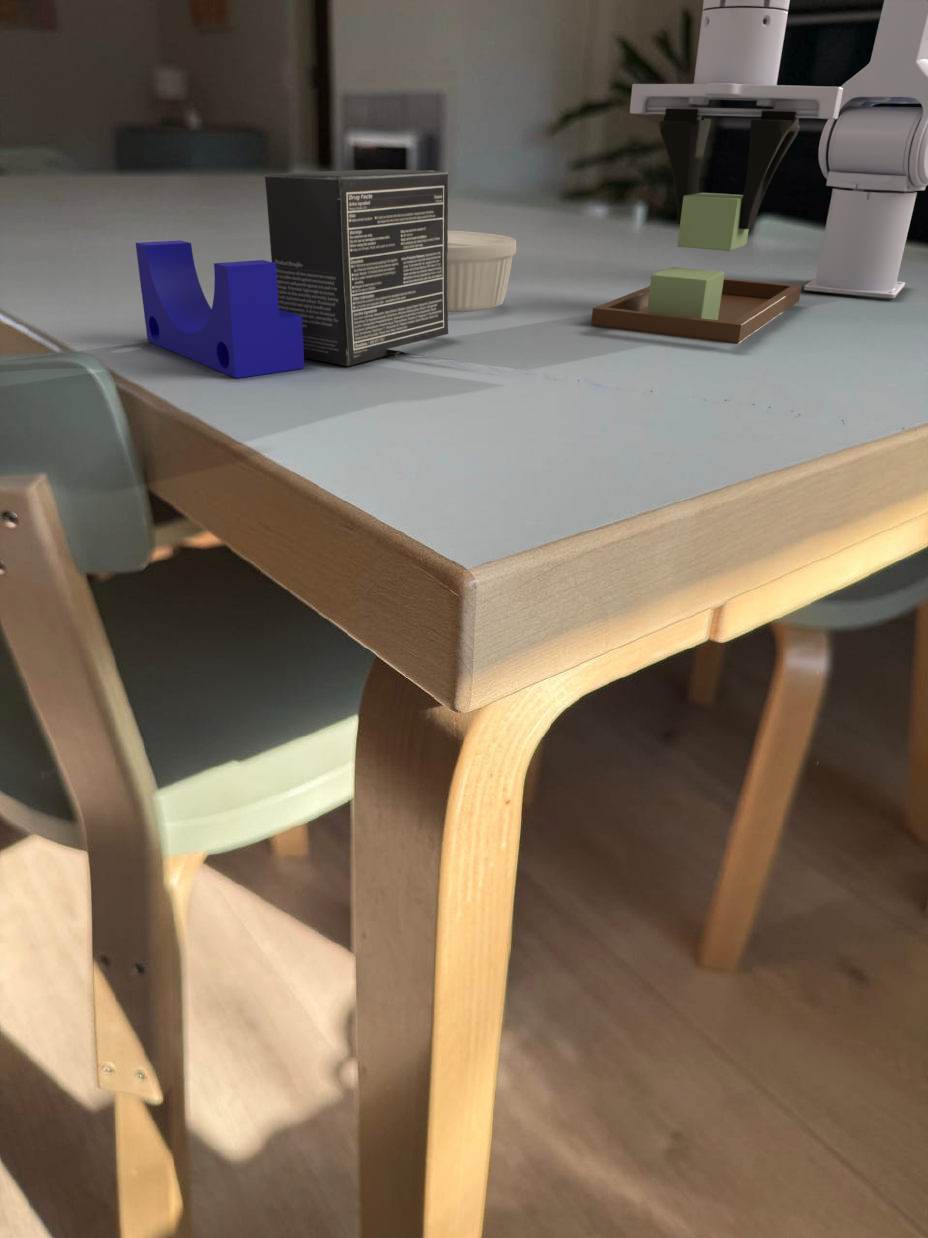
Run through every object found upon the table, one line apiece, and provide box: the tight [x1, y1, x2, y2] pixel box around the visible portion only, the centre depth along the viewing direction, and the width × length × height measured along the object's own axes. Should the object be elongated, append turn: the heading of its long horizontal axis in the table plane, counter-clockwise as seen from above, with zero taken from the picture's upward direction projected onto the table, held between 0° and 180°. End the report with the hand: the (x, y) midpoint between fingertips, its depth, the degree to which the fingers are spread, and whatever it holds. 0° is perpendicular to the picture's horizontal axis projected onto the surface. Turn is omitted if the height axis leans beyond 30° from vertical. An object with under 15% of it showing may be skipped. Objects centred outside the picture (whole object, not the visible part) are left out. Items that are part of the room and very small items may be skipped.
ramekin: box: [447, 230, 517, 312], centre depth 75 cm, size 11×11×5 cm
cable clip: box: [135, 240, 305, 379], centre depth 58 cm, size 12×4×6 cm, turn 40°
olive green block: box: [677, 192, 750, 252], centre depth 71 cm, size 5×4×4 cm
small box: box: [264, 169, 449, 367], centre depth 60 cm, size 11×6×10 cm, turn 145°
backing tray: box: [590, 277, 802, 345], centre depth 74 cm, size 22×11×2 cm, turn 152°
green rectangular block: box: [647, 266, 726, 320], centre depth 69 cm, size 5×4×4 cm
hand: (714, 225), depth 71 cm, fingers closed on olive green block, 4 cm apart
